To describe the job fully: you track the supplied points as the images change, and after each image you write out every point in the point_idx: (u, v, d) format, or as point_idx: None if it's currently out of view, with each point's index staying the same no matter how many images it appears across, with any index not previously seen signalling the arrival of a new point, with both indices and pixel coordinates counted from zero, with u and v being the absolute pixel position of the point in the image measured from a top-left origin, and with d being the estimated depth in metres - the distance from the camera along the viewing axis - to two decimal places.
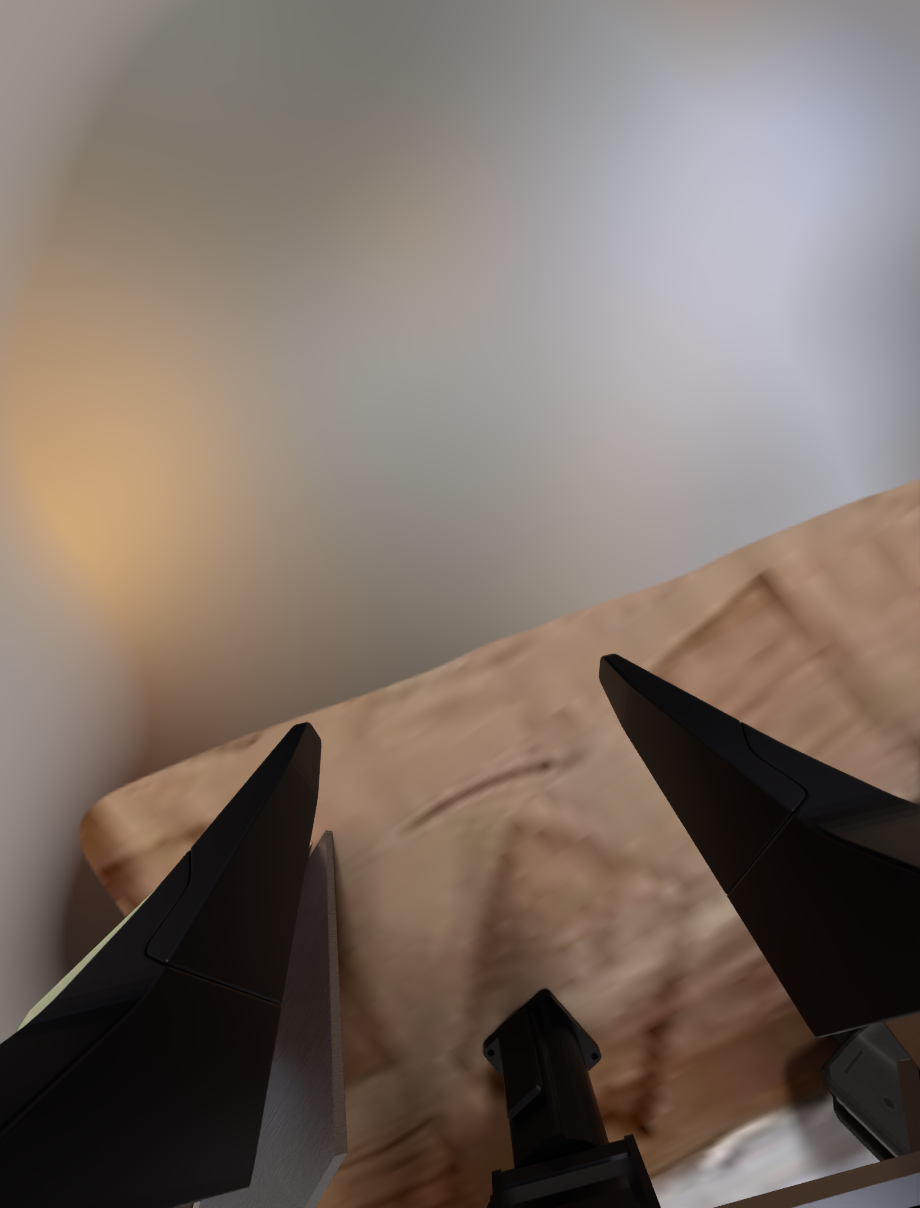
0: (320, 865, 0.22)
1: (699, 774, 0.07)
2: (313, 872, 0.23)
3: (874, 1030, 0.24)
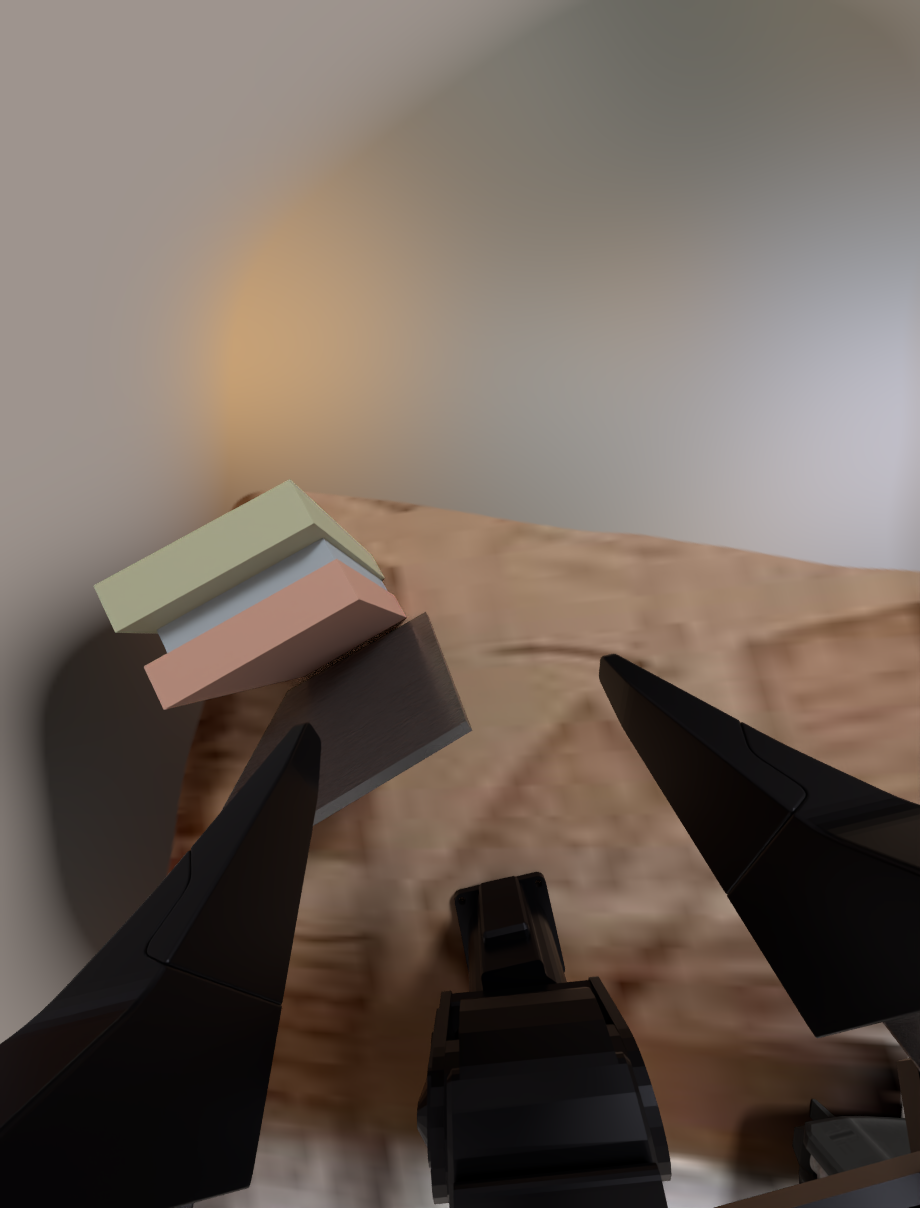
0: (419, 625, 0.23)
1: (699, 774, 0.07)
2: (407, 630, 0.24)
3: (870, 1124, 0.21)
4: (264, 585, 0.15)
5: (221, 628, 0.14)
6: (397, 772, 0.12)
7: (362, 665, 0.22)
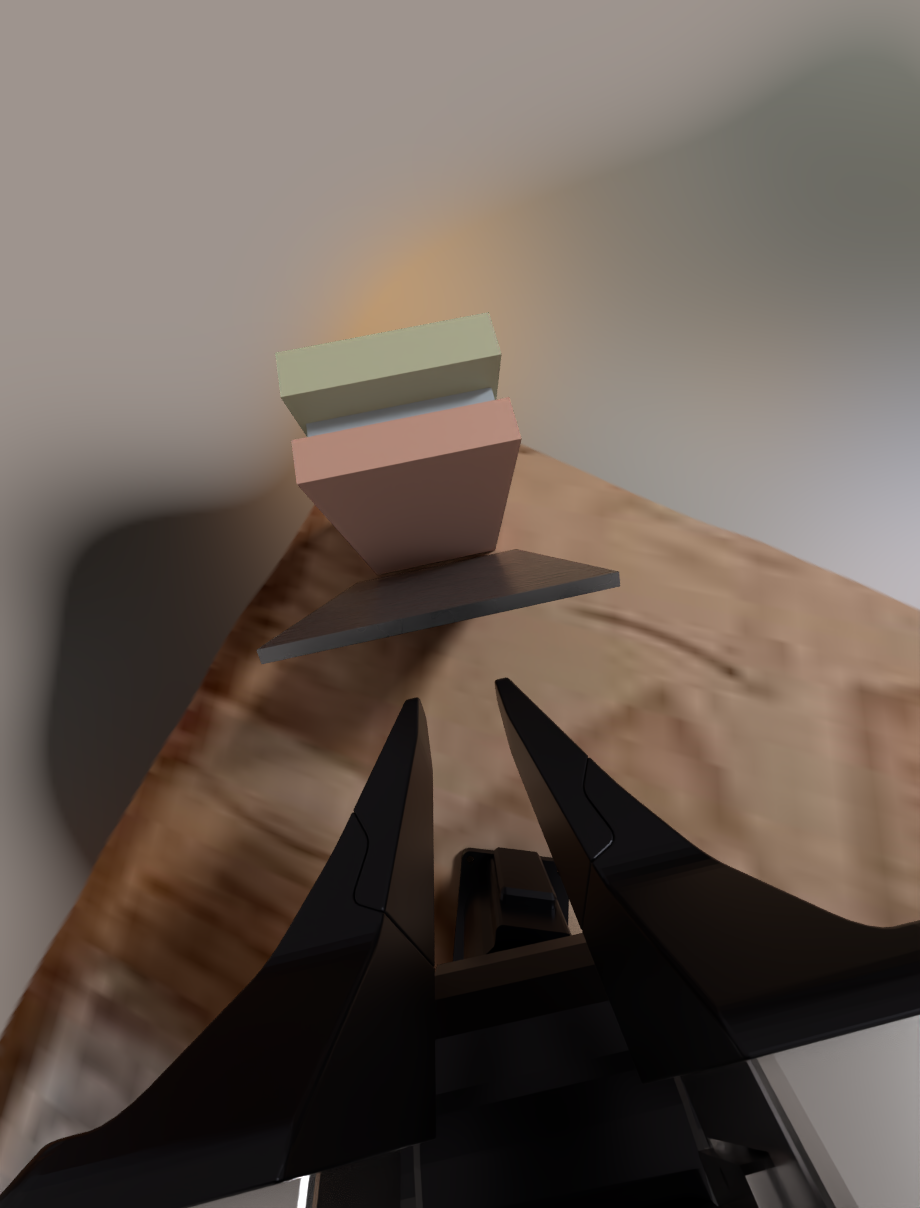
0: (512, 553, 0.22)
1: (548, 810, 0.07)
2: (498, 555, 0.23)
3: None
4: (421, 413, 0.15)
5: (377, 427, 0.13)
6: (525, 605, 0.11)
7: (448, 568, 0.21)
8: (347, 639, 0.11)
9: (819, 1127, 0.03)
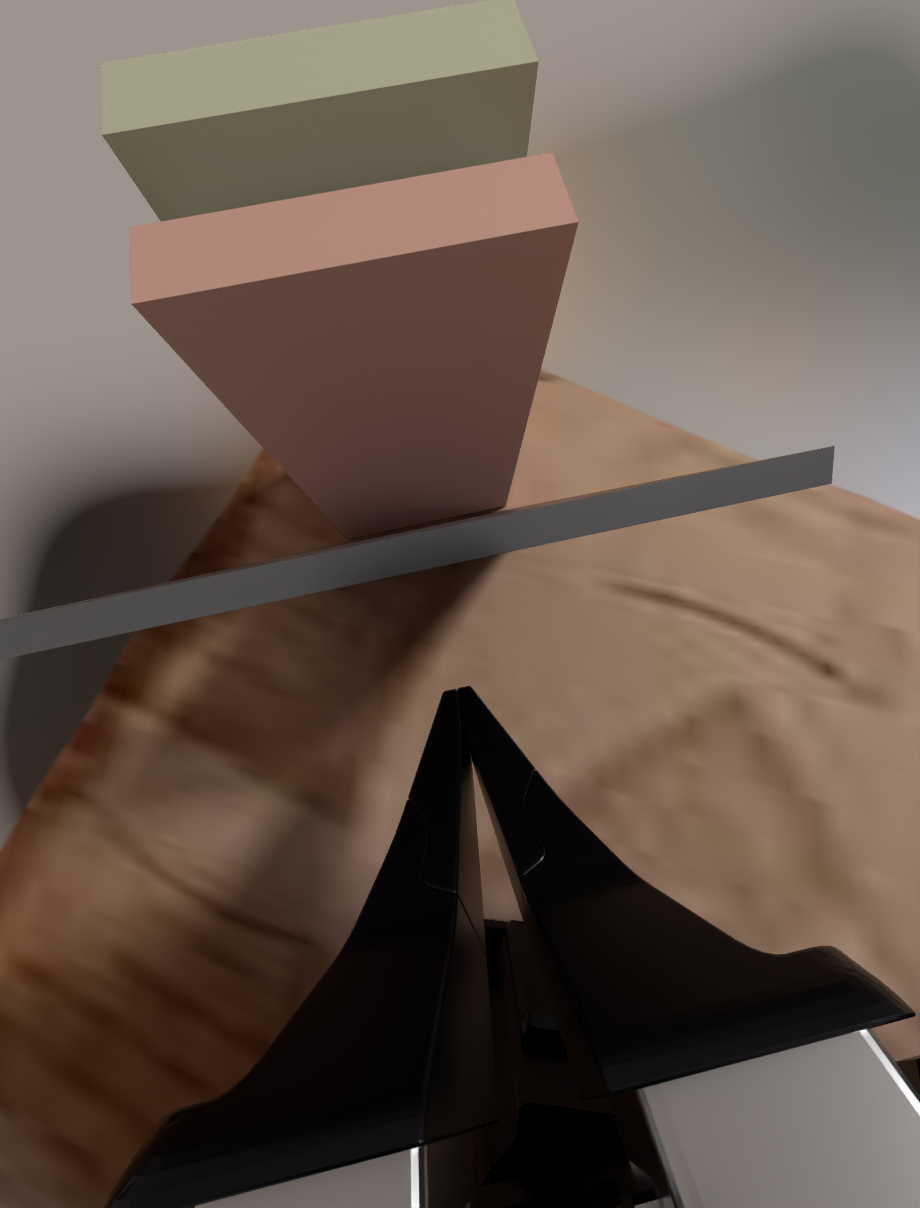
0: None
1: (495, 822, 0.07)
2: (511, 509, 0.16)
3: None
4: None
5: (296, 203, 0.07)
6: (608, 529, 0.05)
7: None
8: (184, 605, 0.04)
9: (692, 1160, 0.03)
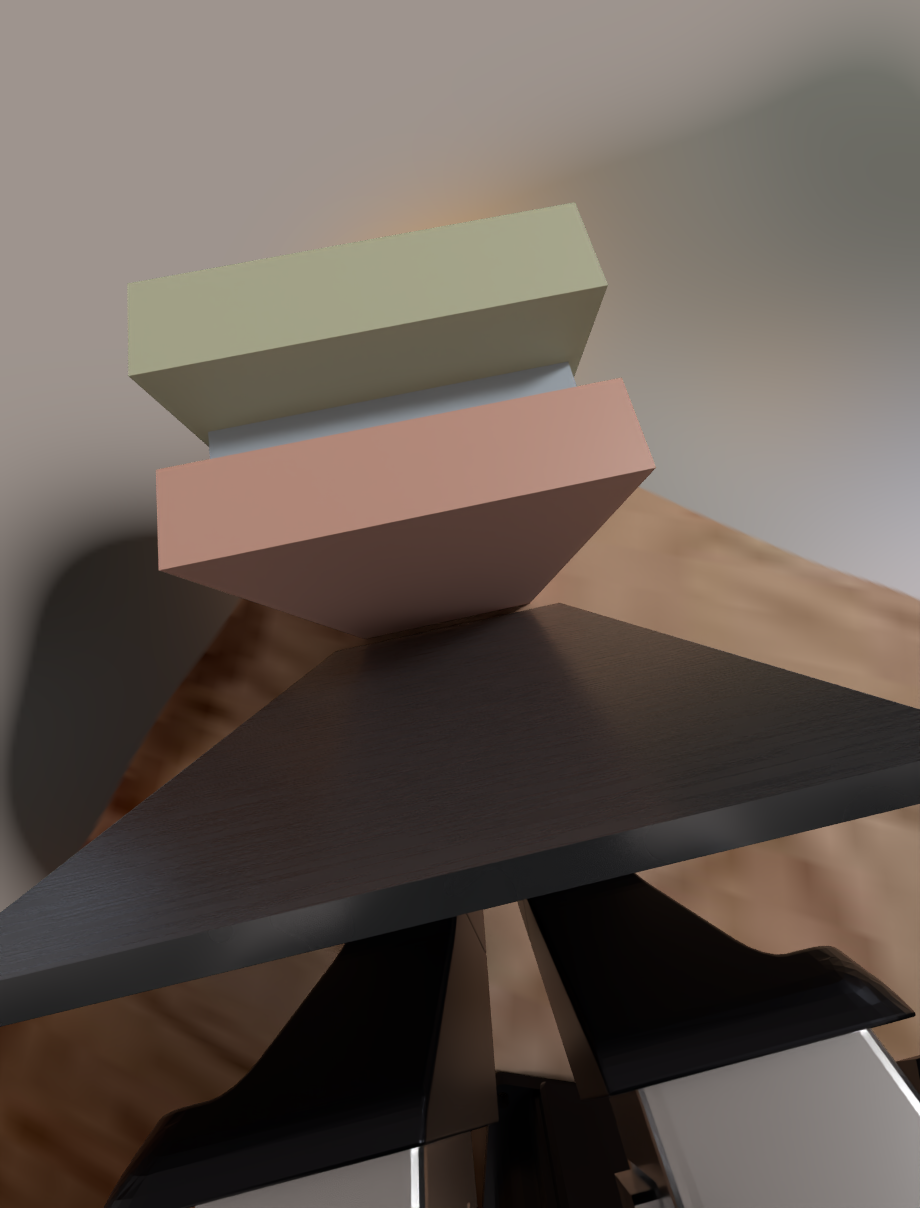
0: (559, 611, 0.15)
1: None
2: (537, 614, 0.16)
3: None
4: (433, 412, 0.07)
5: (341, 442, 0.06)
6: (726, 838, 0.04)
7: (466, 636, 0.14)
8: (178, 963, 0.03)
9: (692, 1161, 0.03)
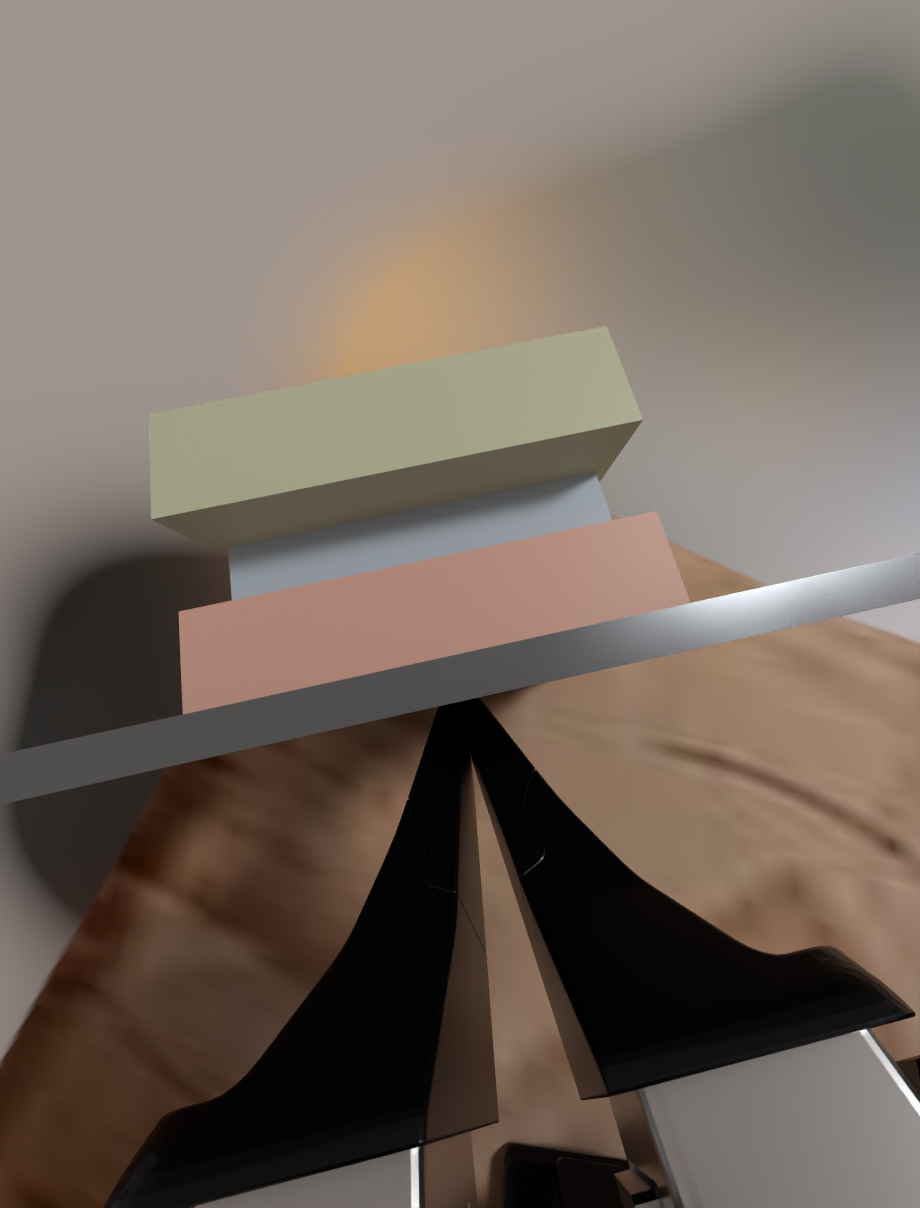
0: None
1: (495, 822, 0.07)
2: None
3: None
4: (459, 526, 0.07)
5: (369, 582, 0.06)
6: (681, 651, 0.04)
7: None
8: (149, 752, 0.04)
9: (692, 1160, 0.03)
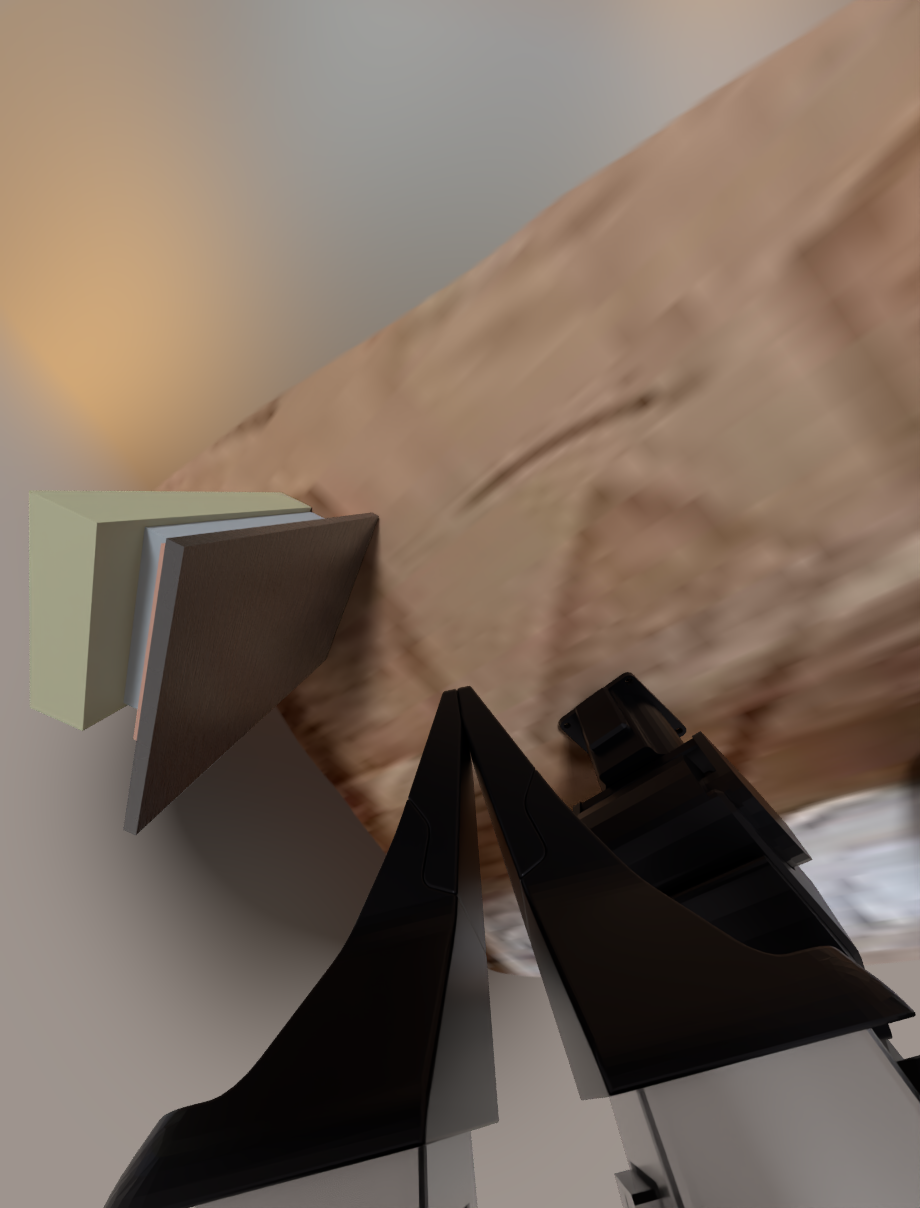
0: None
1: (495, 822, 0.07)
2: None
3: None
4: (150, 612, 0.13)
5: None
6: (171, 646, 0.10)
7: None
8: (139, 782, 0.11)
9: (692, 1160, 0.03)
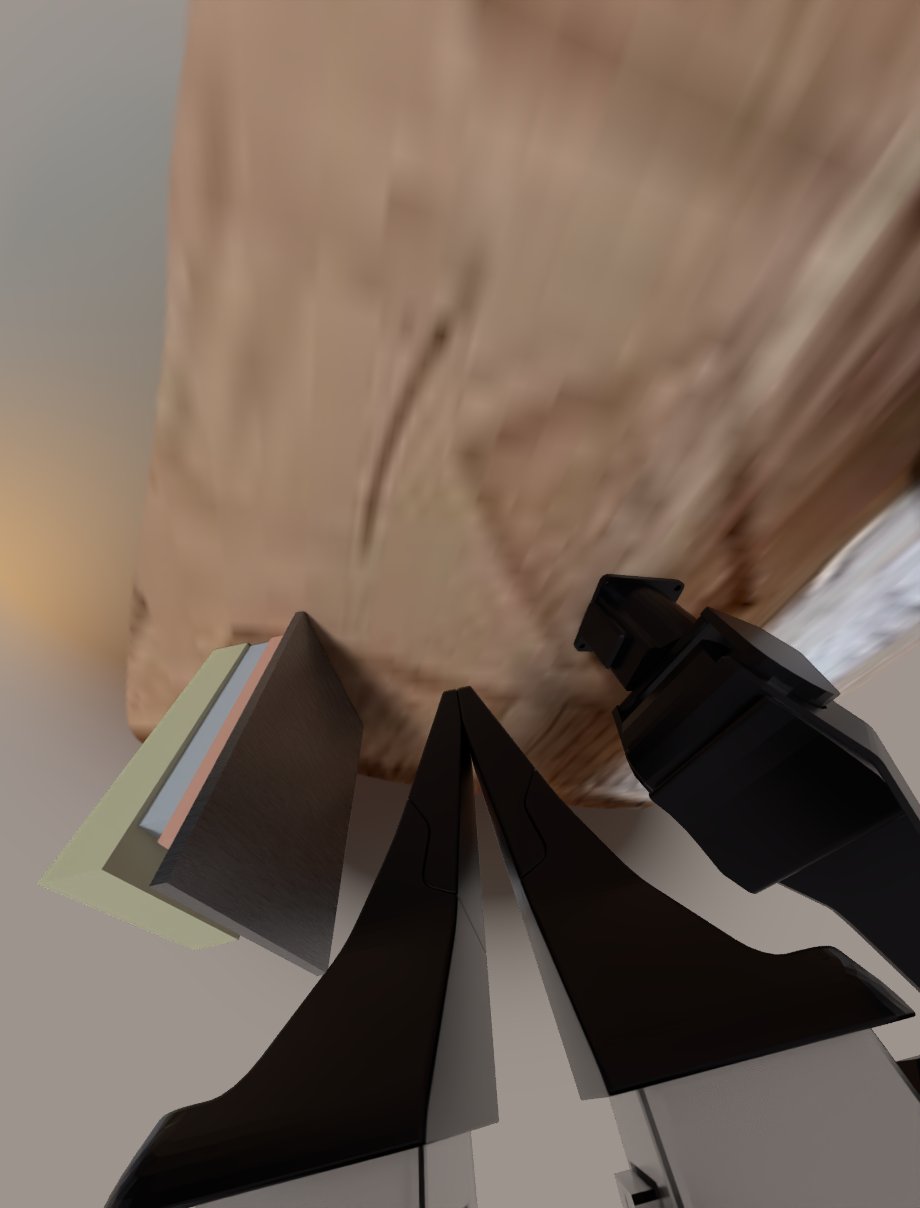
0: None
1: (495, 822, 0.07)
2: None
3: None
4: None
5: None
6: (230, 912, 0.11)
7: None
8: (298, 959, 0.14)
9: (692, 1161, 0.03)
